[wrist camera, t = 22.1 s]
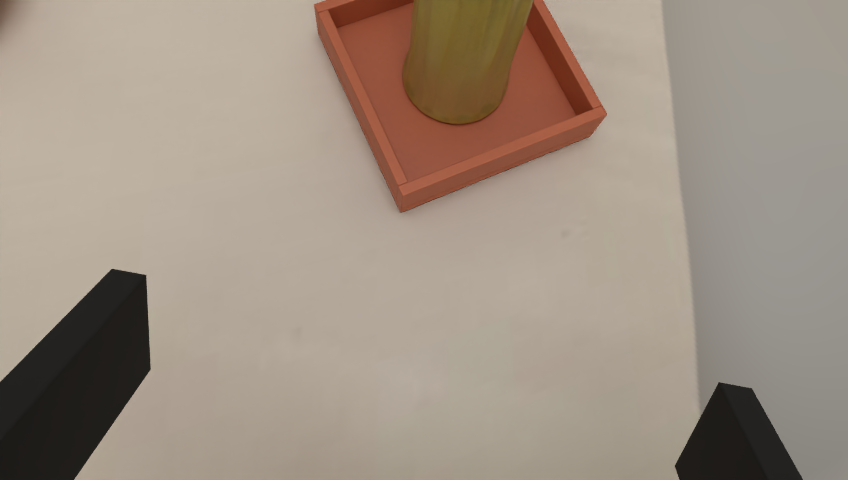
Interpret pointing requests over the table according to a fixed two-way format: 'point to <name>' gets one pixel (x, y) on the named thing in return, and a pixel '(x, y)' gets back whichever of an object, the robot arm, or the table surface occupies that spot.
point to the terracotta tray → (443, 142)
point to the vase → (462, 56)
